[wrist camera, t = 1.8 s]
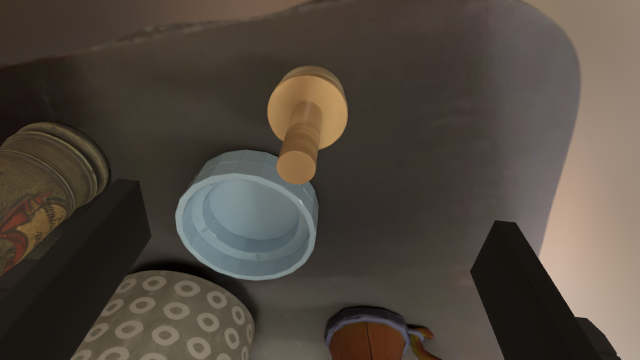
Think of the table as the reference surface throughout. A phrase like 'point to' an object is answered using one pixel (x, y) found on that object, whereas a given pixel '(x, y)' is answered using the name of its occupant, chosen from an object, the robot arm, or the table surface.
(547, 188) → the table surface
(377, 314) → the mug
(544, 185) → the table surface
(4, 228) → the container
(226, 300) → the planter
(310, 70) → the brush
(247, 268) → the bowl
